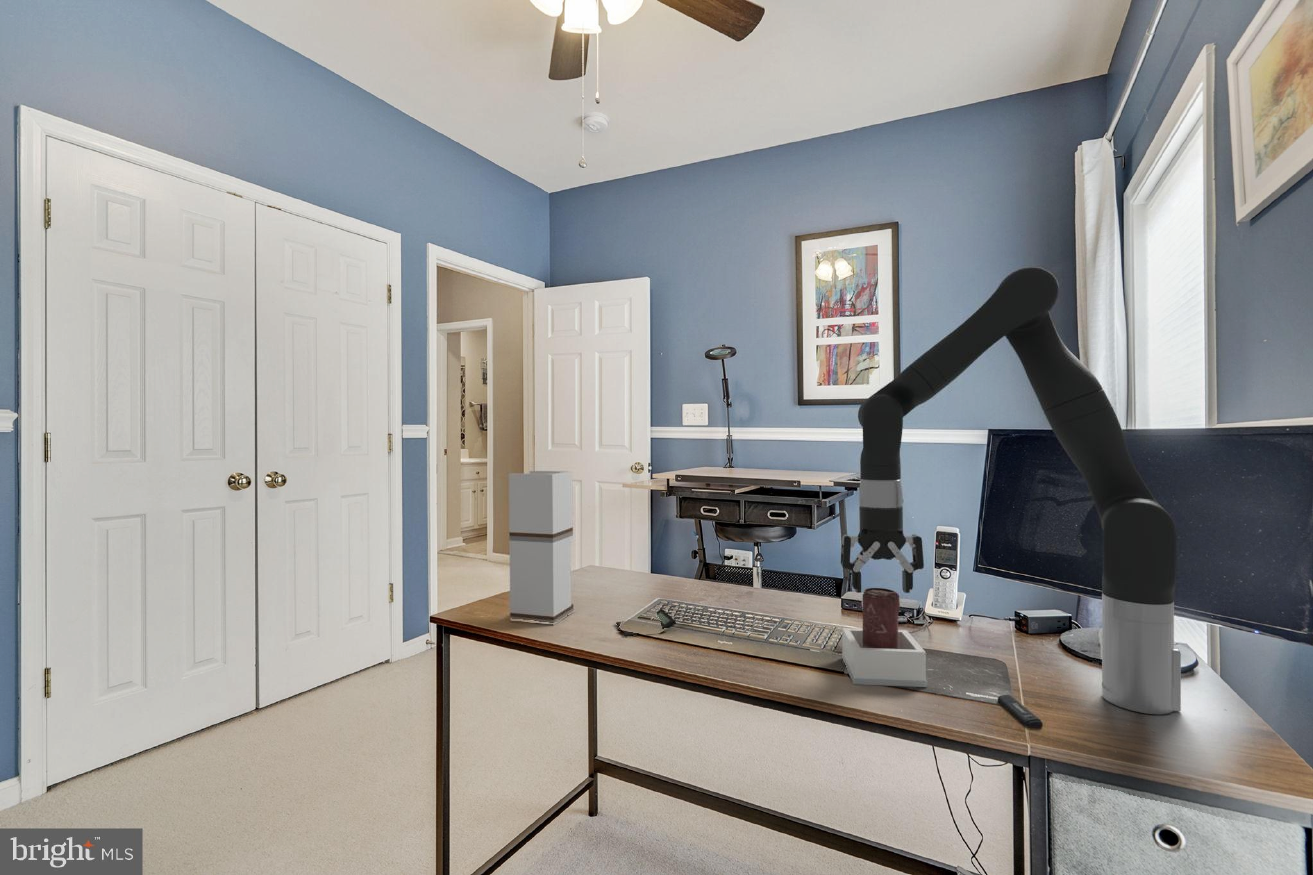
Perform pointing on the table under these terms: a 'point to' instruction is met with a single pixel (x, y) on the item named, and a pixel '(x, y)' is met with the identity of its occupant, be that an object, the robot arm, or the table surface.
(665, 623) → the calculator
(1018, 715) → the usb stick
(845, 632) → the light grey open box
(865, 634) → the can
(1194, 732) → the table surface
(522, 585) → the banded grey pillar
